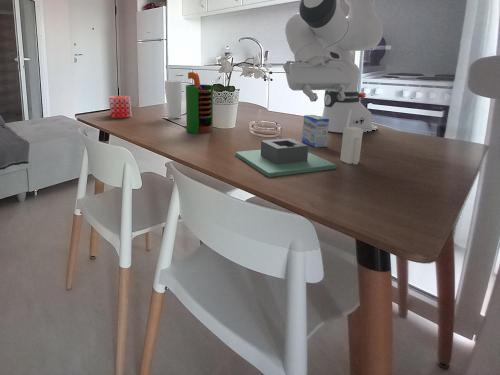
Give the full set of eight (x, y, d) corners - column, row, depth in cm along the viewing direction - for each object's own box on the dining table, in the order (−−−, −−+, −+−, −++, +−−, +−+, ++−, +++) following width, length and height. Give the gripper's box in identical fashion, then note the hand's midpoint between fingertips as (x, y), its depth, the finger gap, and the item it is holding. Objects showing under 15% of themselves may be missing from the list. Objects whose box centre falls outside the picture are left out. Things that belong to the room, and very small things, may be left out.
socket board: (294, 149, 110) (295, 132, 109) (335, 168, 93) (337, 149, 92) (235, 155, 103) (235, 137, 101) (268, 177, 86) (269, 156, 84)
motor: (207, 134, 127) (205, 73, 120) (182, 132, 129) (179, 72, 122) (215, 128, 137) (214, 72, 130) (192, 127, 138) (190, 71, 131)
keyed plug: (350, 159, 102) (354, 126, 99) (361, 163, 98) (365, 129, 95) (340, 160, 101) (343, 127, 97) (350, 164, 97) (354, 130, 94)
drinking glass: (164, 118, 153) (161, 81, 148) (170, 116, 159) (168, 80, 154) (179, 119, 152) (178, 81, 147) (185, 117, 158) (183, 80, 153)
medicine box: (301, 141, 120) (303, 115, 117) (313, 140, 122) (315, 114, 119) (314, 147, 113) (317, 119, 110) (326, 146, 115) (329, 118, 112)
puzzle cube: (131, 117, 156) (129, 98, 153) (111, 117, 153) (109, 98, 151) (131, 114, 163) (129, 95, 160) (112, 114, 161) (110, 96, 158)
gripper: (285, 53, 102) (302, 93, 98) (345, 54, 111) (363, 91, 106) (277, 69, 108) (292, 107, 103) (334, 69, 116) (351, 105, 111)
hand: (328, 99), depth 104 cm, fingers open, 8 cm apart
